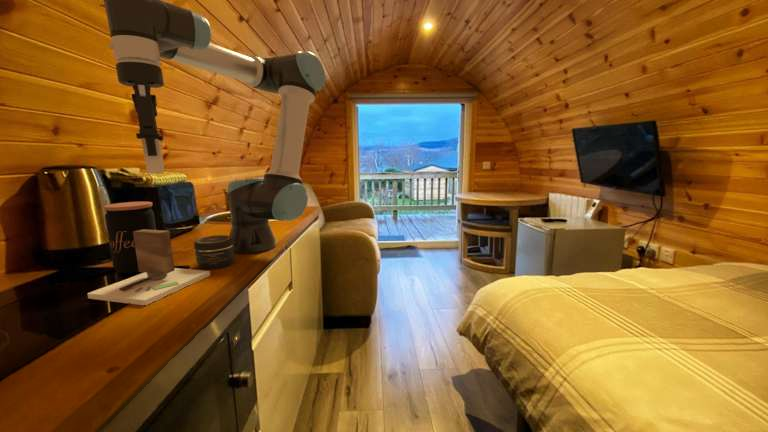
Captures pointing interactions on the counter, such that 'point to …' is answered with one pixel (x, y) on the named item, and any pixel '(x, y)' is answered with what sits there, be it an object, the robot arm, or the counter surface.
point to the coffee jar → (127, 231)
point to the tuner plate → (148, 287)
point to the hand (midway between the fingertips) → (156, 171)
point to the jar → (214, 251)
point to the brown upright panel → (153, 254)
